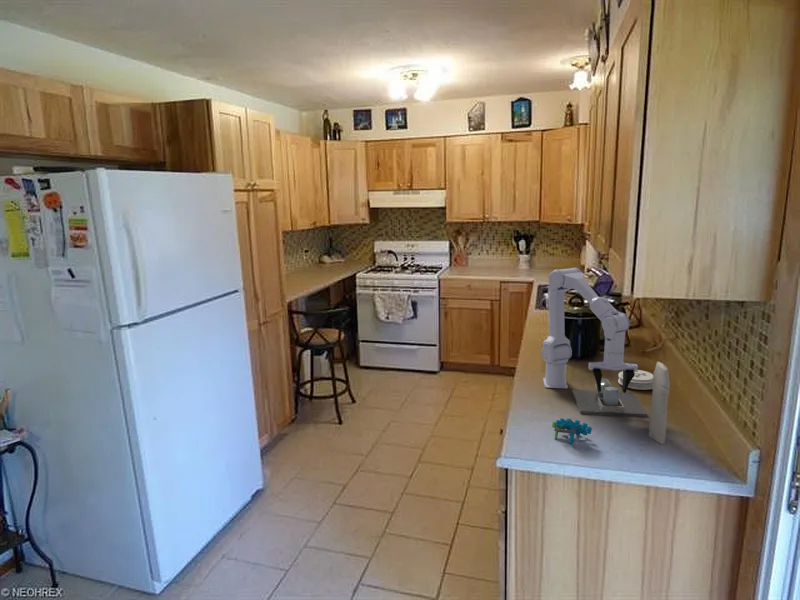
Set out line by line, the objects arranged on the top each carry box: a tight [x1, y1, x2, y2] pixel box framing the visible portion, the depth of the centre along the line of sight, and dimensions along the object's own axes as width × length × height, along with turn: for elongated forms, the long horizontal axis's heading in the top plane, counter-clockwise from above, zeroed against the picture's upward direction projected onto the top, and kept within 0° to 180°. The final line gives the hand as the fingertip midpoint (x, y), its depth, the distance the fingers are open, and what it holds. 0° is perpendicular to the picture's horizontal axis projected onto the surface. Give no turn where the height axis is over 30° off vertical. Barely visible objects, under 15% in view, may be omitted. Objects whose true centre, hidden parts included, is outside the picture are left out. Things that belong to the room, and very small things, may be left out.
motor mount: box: [572, 377, 648, 418], centre depth 167 cm, size 18×20×6 cm
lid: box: [617, 369, 654, 391], centre depth 183 cm, size 13×13×5 cm
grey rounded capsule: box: [603, 386, 620, 406], centre depth 162 cm, size 4×4×6 cm
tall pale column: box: [648, 361, 671, 445], centre depth 142 cm, size 11×4×22 cm, turn 170°
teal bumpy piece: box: [551, 418, 593, 445], centre depth 143 cm, size 11×6×10 cm
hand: (611, 391), depth 162 cm, fingers open, 7 cm apart
